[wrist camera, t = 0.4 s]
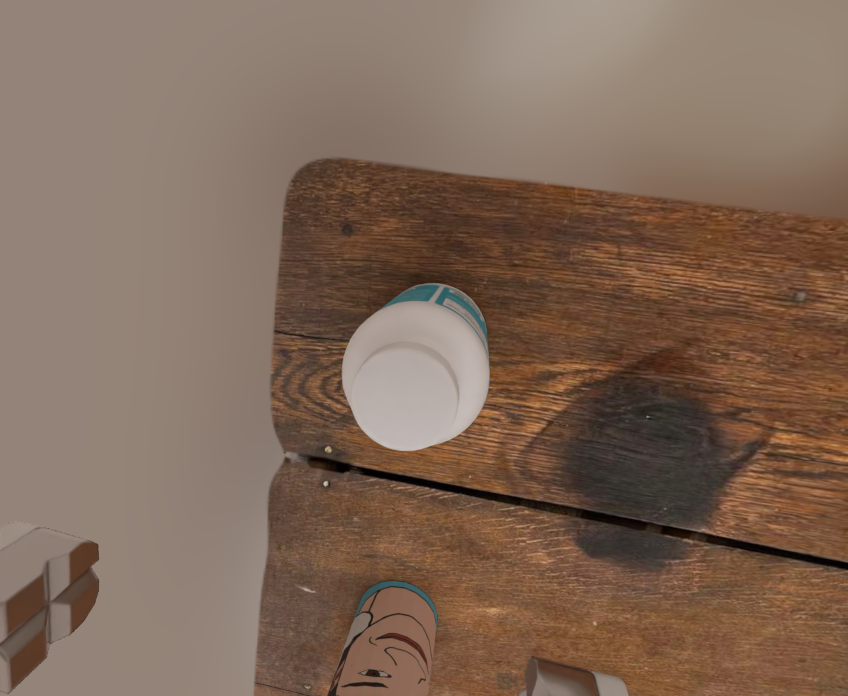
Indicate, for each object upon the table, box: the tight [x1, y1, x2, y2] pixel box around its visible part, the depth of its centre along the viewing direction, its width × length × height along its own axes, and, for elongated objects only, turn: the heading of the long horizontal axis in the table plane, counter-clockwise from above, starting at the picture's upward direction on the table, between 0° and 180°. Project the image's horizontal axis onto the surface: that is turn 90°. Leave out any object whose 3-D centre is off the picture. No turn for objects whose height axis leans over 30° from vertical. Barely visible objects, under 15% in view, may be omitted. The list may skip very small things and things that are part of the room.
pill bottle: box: [342, 283, 489, 451], centre depth 26 cm, size 8×7×14 cm
